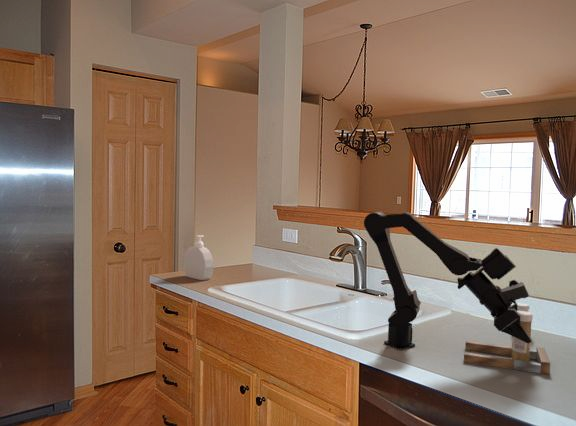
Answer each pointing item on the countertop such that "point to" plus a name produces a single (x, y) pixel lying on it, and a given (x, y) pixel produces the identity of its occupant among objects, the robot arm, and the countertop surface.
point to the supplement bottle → (522, 307)
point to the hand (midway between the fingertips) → (528, 337)
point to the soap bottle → (198, 261)
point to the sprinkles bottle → (518, 346)
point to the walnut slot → (539, 354)
